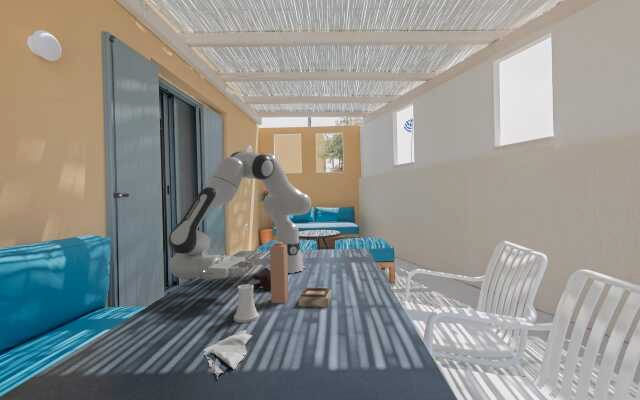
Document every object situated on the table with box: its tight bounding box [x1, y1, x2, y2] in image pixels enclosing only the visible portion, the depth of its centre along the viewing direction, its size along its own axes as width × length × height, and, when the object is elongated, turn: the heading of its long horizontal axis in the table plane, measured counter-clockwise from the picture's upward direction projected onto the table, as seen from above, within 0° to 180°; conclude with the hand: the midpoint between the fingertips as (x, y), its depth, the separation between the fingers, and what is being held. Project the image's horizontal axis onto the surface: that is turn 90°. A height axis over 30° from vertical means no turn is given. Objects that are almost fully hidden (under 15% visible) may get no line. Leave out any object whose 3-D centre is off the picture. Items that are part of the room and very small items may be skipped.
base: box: [298, 287, 332, 308], centre depth 121 cm, size 10×10×4 cm
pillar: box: [269, 241, 289, 304], centre depth 123 cm, size 5×5×21 cm
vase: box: [233, 283, 260, 323], centre depth 106 cm, size 8×8×10 cm
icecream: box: [252, 272, 271, 290], centre depth 140 cm, size 7×7×15 cm
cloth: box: [202, 329, 254, 379], centre depth 84 cm, size 26×14×2 cm, turn 168°
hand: (248, 267), depth 125 cm, fingers open, 8 cm apart
